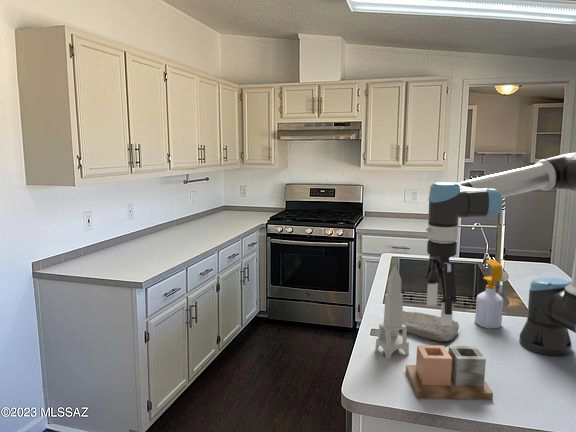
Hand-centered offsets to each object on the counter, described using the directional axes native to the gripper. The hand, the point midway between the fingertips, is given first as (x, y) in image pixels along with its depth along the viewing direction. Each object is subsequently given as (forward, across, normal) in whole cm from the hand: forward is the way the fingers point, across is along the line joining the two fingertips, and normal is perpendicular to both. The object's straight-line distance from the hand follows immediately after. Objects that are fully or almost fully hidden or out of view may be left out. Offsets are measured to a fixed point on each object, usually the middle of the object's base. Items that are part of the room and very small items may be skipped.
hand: (438, 314), depth 122 cm
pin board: (+21, +1, +3) cm, 21 cm away
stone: (+22, -36, +4) cm, 42 cm away
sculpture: (+21, -18, -9) cm, 29 cm away
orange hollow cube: (+19, +1, -1) cm, 19 cm away
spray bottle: (+22, -41, +31) cm, 56 cm away
